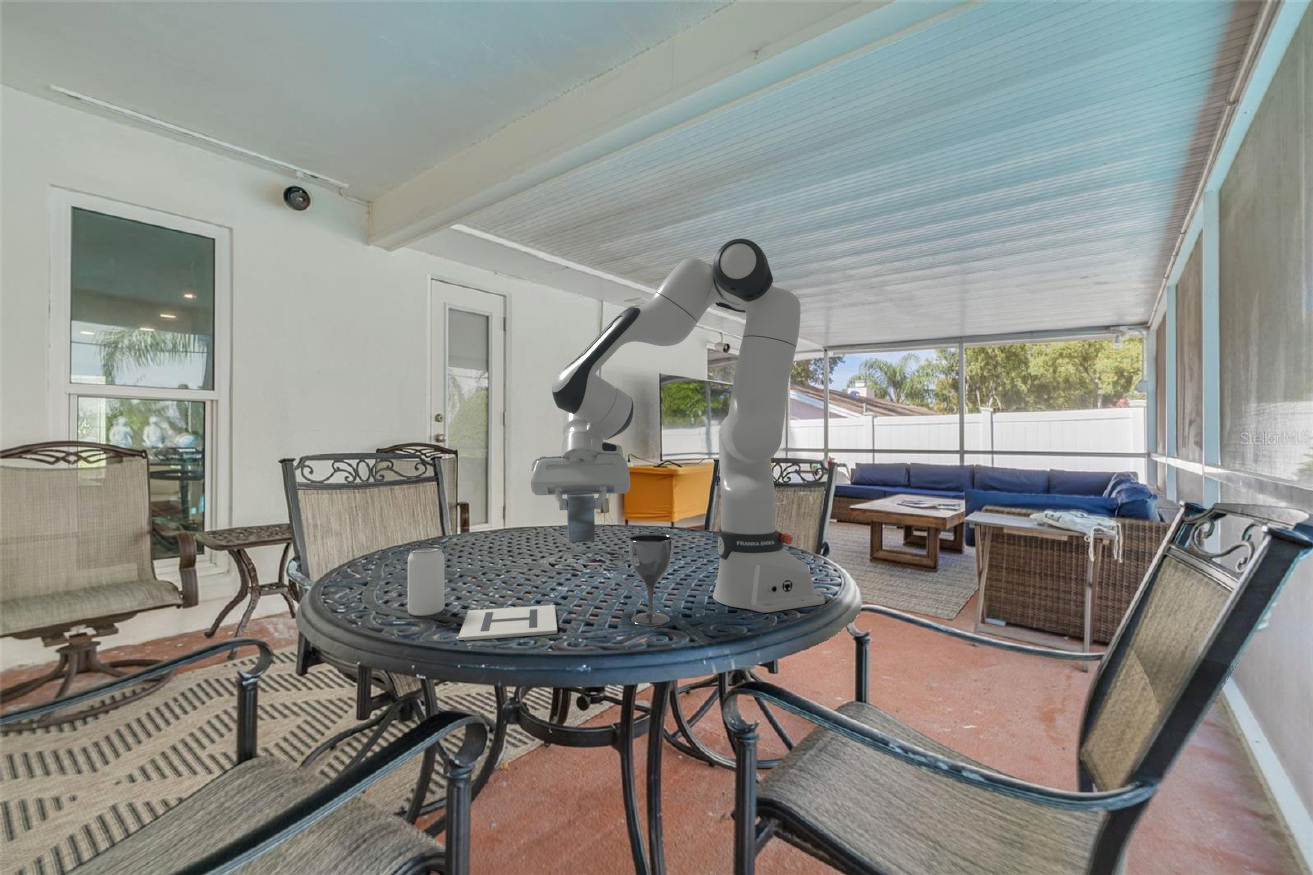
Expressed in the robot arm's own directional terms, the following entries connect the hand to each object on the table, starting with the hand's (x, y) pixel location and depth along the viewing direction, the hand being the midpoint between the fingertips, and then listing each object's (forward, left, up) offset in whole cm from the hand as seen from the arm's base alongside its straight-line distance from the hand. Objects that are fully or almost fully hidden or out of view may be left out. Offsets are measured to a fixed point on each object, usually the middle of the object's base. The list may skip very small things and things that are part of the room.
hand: (580, 508), depth 111 cm
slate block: (0, -1, -6) cm, 6 cm away
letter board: (+13, +8, -19) cm, 25 cm away
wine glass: (-12, +11, -19) cm, 25 cm away
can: (+29, -2, -19) cm, 35 cm away
